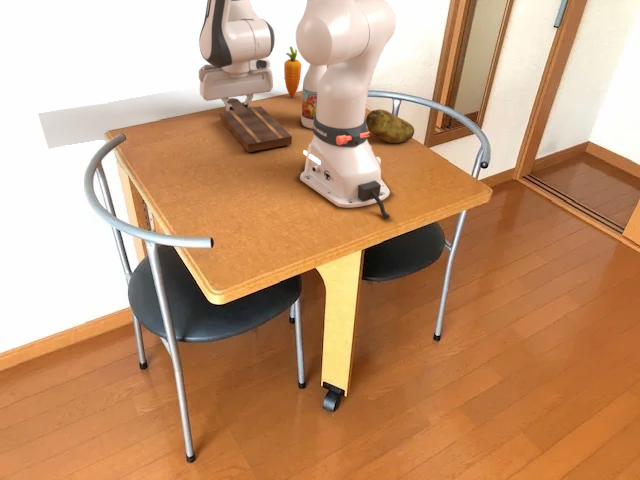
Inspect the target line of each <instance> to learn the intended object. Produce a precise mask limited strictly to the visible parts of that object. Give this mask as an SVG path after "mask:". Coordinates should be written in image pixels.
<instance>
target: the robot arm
mask: <svg viewBox="0 0 640 480" xmlns="http://www.w3.org/2000/svg"><path fill="white" fill-rule="evenodd" d="M396 21H397V19H396V14H395V12H394V10H393V8H392V6H391V4H389V2H388V1H386V0H306V6H305V9H304V12H303V14H302V17H301V18H300V21H299V22H298V23H297V26H296V30H295V43H296V47H297V51H298V52H299V54H300V56H301V58H303V59H304V60H305V62H307V64H309V65H310V64H312V65H315V66H326V67H327V65H329V66H328V68H327V70H326V72H325V73H324V74H323V76H322V77H321V79H320V81H319V83H318V89H317V107H316V114H315V116H314V121H313V129H312V132H313V136H312V139H311V141H310V142H309V144H308V145H307V150H305V149H304V150H303V155H305V156H306V157H305V165H304V171H302V172H301V173H300V176H299V180H300V181H301V182H302V183H304V184H305V185H306V186H308V187H310V188H311V189H312V190H314V191H315V192H317V193H318V194H319V195H320V196H322V197H323V198H325V199H326V200H327V201H329V202H331V203H332V204H334V205H335V206H336V207H338V208H348V209H349V208H351V209H352V208H360V207H365V206H369V205H373V204H376V203H377V205H378V206H379V210H380V214H381V216H383V217H384V218H385V219H387V220H388V219H390V216H391V215H389V214H388V213H387V212H386V209H385V205H384V203H383V202H382V201H384V200H386V199H387V198H388V197H389V196H390V194H391V191H390V189H389V187H388V186H387V185H386V183H385V181H383V179H382V170H381V164H382V160H381V157H380V156H375V153H374V151H373V148H372V145H371V144H370V143H369V140H368V137H370V135H369V134H370V133H371V132H370V131H368V127H367V124H366V112H367V111H366V110H367V102H368V95H369V90H370V85H371V82H372V79H373V76H374V73H375V71H376V68H377V65H378V62H379V60H380V59H381V58H380V57H381V55H382V53H383V51H384V49H385V47H386V45H387V44H388V43H389V41H390V40H391V38H392V37H393V35H394V34H395V31H396V25H397V24H396V23H397V22H396ZM198 40H199V41H198V43H199V44H198V45H199V51H200V55H201V57H202V58H203V59H204V61H206V62H207V64H203V65H202V66H201V67H200V68H199V70H198V79H199V95H200V96H201V98H202V99H204V101H207V102H209V101H215V100H221V101H222V102H223V104H224V106H225V112H227V111H231V110H232V109H233V106H232V105H231V104H228V103H227V101H229V98H237V97H242V96H246V98H245V100H244V101H242V102H241V103H242V104H243V105H244V106H245V107H246V108H250V104H251V102H252V100H253V99H254V95H257V94H265V93H269V92H271V91H272V90H273V89H274V77H273V72H272V69H271V68H270V66H271V61H270V59H268V57H270V55H271V54H272V52H273V50H274V48H275V42H276V41H275V30H274V28H273V27H272V26H271V24H270V23H268V21H267V20H266V19H263V18H260V16H259V15H258V14H257V13H256V12H255V10H254V9H253V7H252V4H251V1H250V0H207V2H206V8H205V14H204V21H203V24H202V27H201V30H200V33H199V39H198ZM232 111H233V110H232Z"/></svg>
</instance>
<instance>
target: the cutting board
mask: <svg viewBox="0 0 640 480" xmlns="http://www.w3.org/2000/svg"><path fill="white" fill-rule="evenodd" d="M227 103H228V104H231V105H232V106H233V109H232V110H233V111H232V110H231V111H221V112H220V113H219V115H220V121H221V122H222V124H224V126H225V127H226V129H228V131H229V132H230V133H231V134H232V136H234V138H235V139H236V140H237V141H238V143H240V145H241V146H242V147H243V148H244V149H245V150H246V152H247V153H254V152H257V151H261V150H268V149H274V148H278V147H286V146H289V145H292V143H293V136H292V135H291V134H290V133H289V132H288V131H287V130H286V129H285V128H284V126H282V125H281V124H280V123H279V122H278V121H277V120H276V119H275V118H274V117H273V116H272V115H271V114H269V112H268V111H266V110H265V109H264V107H263V106H261V105H259V106H251V107H250V106H249V108H246V107H245V106H244V105H243V104H242V102H241V101H240V100H239V99H238V98H237V97H230V98H229V101H227Z"/></svg>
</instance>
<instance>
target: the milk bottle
mask: <svg viewBox="0 0 640 480" xmlns="http://www.w3.org/2000/svg"><path fill="white" fill-rule="evenodd" d="M326 70H327V66H315V65H312V64H310V63H309V67H308V69H307V71H306V73H305V75H304V78H303V81H302V93H301V117H300V122H301V125H302V126H303V127H305V128H307V129H312V130H313V121H314V116H315V114H316V107H317V89H318V83H319V81H320V79H321V77H322V76H323V74H324V73H325V72H326Z"/></svg>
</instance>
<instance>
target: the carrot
mask: <svg viewBox="0 0 640 480" xmlns="http://www.w3.org/2000/svg"><path fill="white" fill-rule="evenodd" d="M289 51H290V52H286V56H288V57H289V59H287V60H285V61H284V64H283V67H284V68H283V72H284V74H283V76H284V83H285V88H286V91H287V93H288V96H289V97H290V98H293V97H295V95H296V93H297V91H298V89H299V85H300V80H301V74H302V63H301V62H300V60H299V59H296V58H297V56H298V49H295V48H294V47H293V46H289Z"/></svg>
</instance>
